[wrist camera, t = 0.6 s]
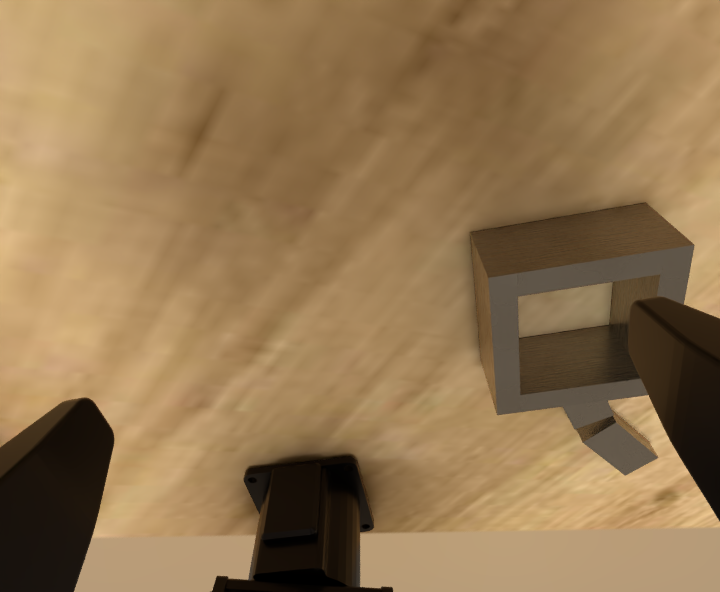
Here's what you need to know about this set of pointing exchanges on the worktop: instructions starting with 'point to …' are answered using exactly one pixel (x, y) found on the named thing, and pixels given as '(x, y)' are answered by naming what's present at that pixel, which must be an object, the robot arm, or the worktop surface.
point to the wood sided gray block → (618, 443)
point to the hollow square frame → (563, 271)
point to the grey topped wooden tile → (587, 413)
